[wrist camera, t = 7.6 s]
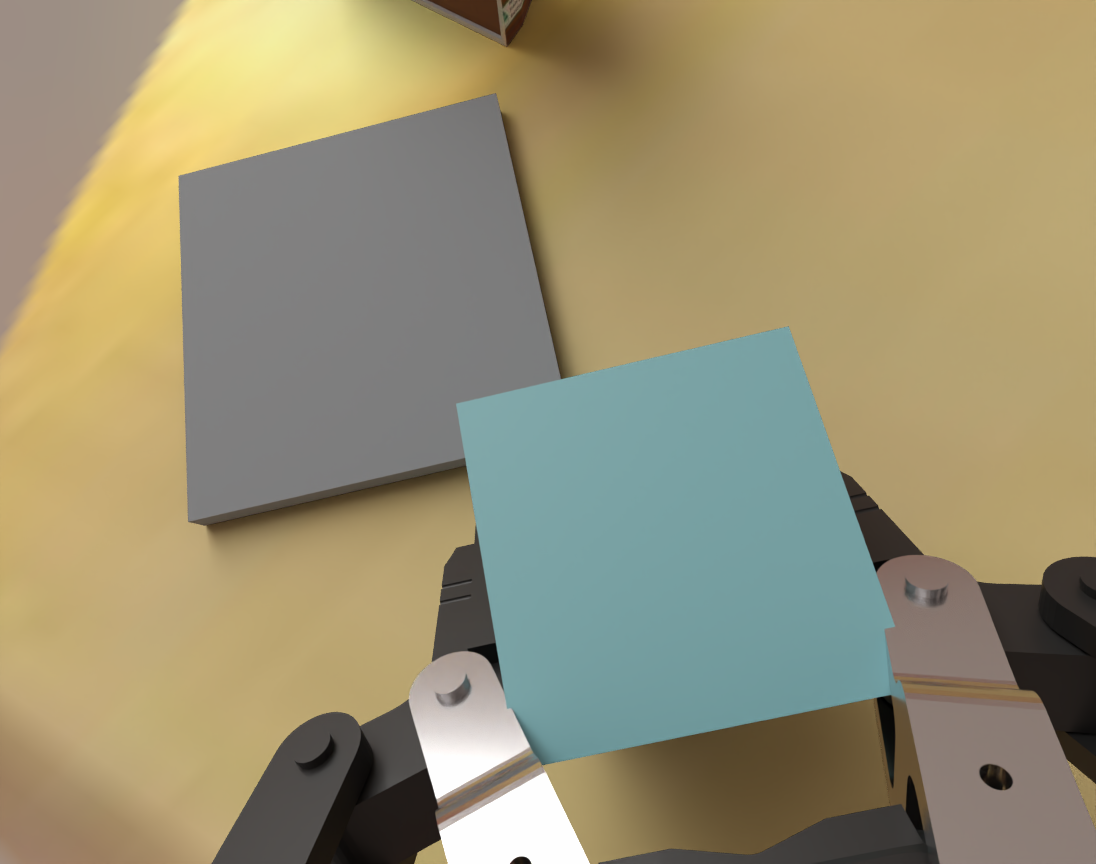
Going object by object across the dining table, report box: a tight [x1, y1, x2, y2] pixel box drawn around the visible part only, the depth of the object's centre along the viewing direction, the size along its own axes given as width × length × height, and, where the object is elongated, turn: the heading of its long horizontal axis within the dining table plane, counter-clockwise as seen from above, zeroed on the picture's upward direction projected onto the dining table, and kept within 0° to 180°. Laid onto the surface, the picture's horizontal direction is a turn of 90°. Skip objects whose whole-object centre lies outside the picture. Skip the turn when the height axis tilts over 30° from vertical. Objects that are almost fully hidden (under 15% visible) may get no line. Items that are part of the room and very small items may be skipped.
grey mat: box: [179, 93, 561, 526], centre depth 21 cm, size 12×13×1 cm
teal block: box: [456, 326, 895, 765], centre depth 13 cm, size 5×5×10 cm
